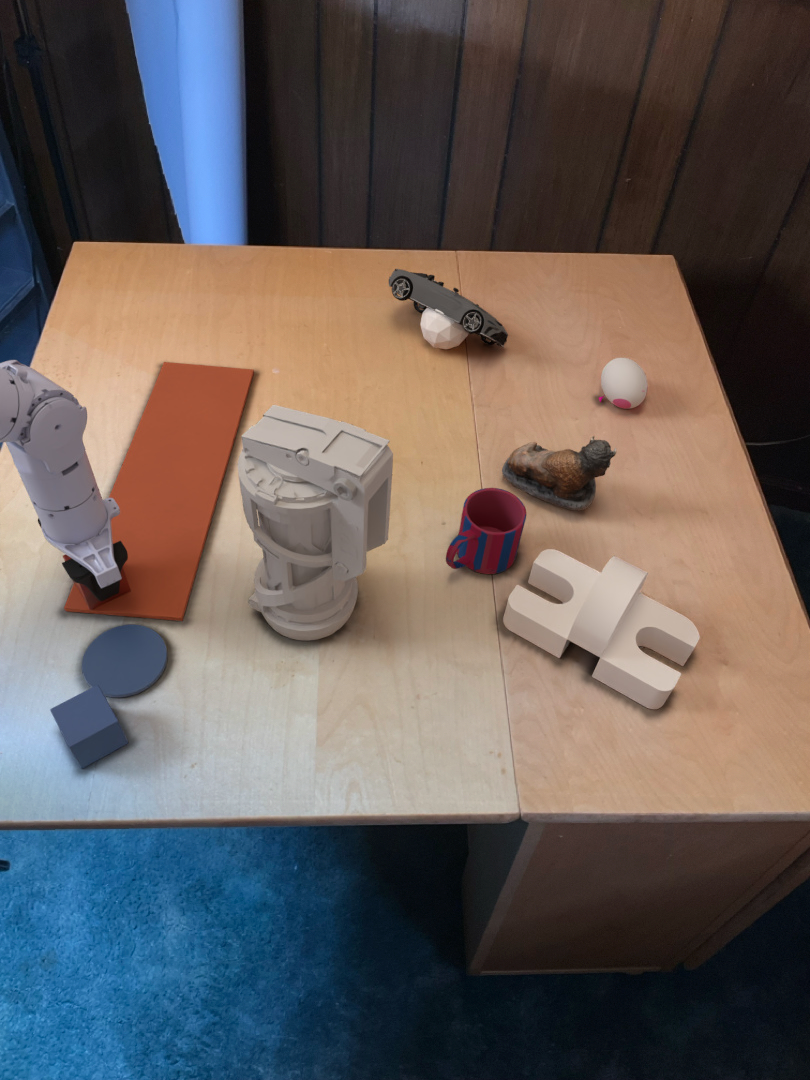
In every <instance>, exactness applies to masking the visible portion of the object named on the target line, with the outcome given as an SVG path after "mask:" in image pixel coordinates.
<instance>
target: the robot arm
mask: <svg viewBox="0 0 810 1080" xmlns="http://www.w3.org/2000/svg"><path fill="white" fill-rule="evenodd" d="M87 423H88V409H87V407H86V406H83V405H81V404H80V401H78V399H77V397H75V395H74V394H72V393H71V392H70V391H68V390H67V389H65V388H64V387H62V386H60V385H59V384H57V383H56V382H54V381H53V380H51V379H50V378H48V377H47V376H45V375H43V374H42V373H40V372H39V371H37V370H36V369H35V368H32V367H30V366H28V365H26V364H24V363H21V362H20V361H18V360H17V359H9V360H6V361H2V362H0V443H5V445H6V448H7V449H8V451H9V453H10V456H11V458H12V462H13V464H14V466H15V468H16V470H17V473H18V474H19V477H20V479H21V482H22V484H23V486H24V488H25V490H26V492H27V495H28V497H29V499H30V502H31V505H32V506H33V509H34V511H35V513H36V515H37V517H38V518H37V524H38V525H39V527H40V529H41V531H42V534H43V537H44V538H45V540H46V542H48V544H50V545H51V546H52V547H54V548H56V549H57V550H59V552H62V553H63V554H64V555H65V554H66V555H68V556H69V557H71V558H72V559H69V560H67V561H63V562H61V565H62V567H63V569H64V571H65V572H66V574H67V575H68V577H69V578H70V579H71V580H72V581H74V582H76V583H80V584H83V585H84V586H86V587H87V588H88V589H89V590H90V591H91V592H92V594H93V595H94V596H95V597H96V598H97V599H98V600H99V601H104V600H106V599H108V598H110V597H112V596H114V595H116V594H118V593H119V590H120V579H122V577H121V574H120V573H121V569H122V567H123V565H124V564H125V562H126V561H127V559H128V553H127V550H126V548H125V547H124V545H123V543H122V542H121V541H118V542H116V543H114V544H113V539H112V525H111V520H112V518H113V517H115V516H118V515H119V514H120V509H119V506H118V505H117V503H116V502H115V500H114V499H113V498H109V497H107V498H104V499H103V497H102V494H101V491H100V488H99V485H98V482H97V480H96V476H95V474H94V471H93V468H92V465H91V461H90V460H89V457H88V454H87V451H86V446H85V444H84V440H83V439H84V438H83V437H84V432H85V430H86V427H87ZM74 582H73V583H74Z"/></svg>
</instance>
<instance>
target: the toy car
mask: <svg viewBox="0 0 810 1080" xmlns="http://www.w3.org/2000/svg"><path fill="white" fill-rule="evenodd" d="M435 277H436V276H435V275H434V274H427V273H423V272H412V271H408V270H405V269H400V268H394V270H393V271H392V273H391V275H390V276H389V277H388V287H390V288H391V294H392V296H393V297H394V298H395V299H396V300H398V301H401V302H404V301H408V300H410V301H412V302H413V304H412V305H413V307H414V309H415V311H416V312H418V313H420V314H421V319H420V323H419V325H420V329H421V333H422V335H423V339H424V340H425V341H427V343H429V344H430V346H431V347H433V348H435V349H441V350H442V349H443V350H449V349H453V348H456V347H459V346H460V345H461V344H462V342H464V340H466V338H467V337H468V336H469V334H470V335H476V336H480V340H481V342H482V343H484V344H485V345H487V346H494V345H497V346H499V347H500V348H505V344H506V343H507V342H508V341H507V340H508V337H509V334H508V332H507V330H506V328H505V326H503V324H502V323H501V322H500V321H499V320H498V319H497V318H496V317H494V316H493V315H492V314H491V313H489V312H488V311H486V310H485V309H483V308H482V307H481V306H480V305H479V304H478V303H474V302H473V301H471V300H469V299H468V298H466V297H465V296H463V295H461V294H460V293H459V292H460V290H459V288H456V287H453V288H452V289H449V288H447V287H445V286H444V285H445V282H444V281H437V280H435Z"/></svg>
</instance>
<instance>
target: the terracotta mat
mask: <svg viewBox="0 0 810 1080" xmlns="http://www.w3.org/2000/svg"><path fill="white" fill-rule="evenodd" d="M254 370H255V369H252V368H241V367H240V368H239V367H231V366H230V367H229V366H217V365H215V366H214V365H205V364H194V363H193V364H192V363H183V362H181V363H180V362H169V361H163V364H162V366H161V367H160V371H159V373H158V376H157V378H156V381H155V383H154V385H153V388H152V390H151V393H150V396H149V398H148V401H147V402H146V405H145V408H144V411H143V412H142V415H141V418H140V420H139V423H138V425H137V427H136V430H135V432H134V435H133V436H132V437H133V438H132V440H131V442H130V445H129V447H128V449H127V452H126V454H125V457H124V459H123V462H122V464H121V467H120V470H119V471H118V474H117V477H116V480H115V482H114V484H113V487H112V488H111V492H110V494H109V496H108V498H113V499H114V500H115V502H116V503H117V505H118V506H119V509H120V514H119V515H118V516H115V517H113V518H112V520H111V525H112V539H113V544H114V543H116V542H118V541H121V542H122V543H123V545H124V547H125V548H126V550H127V553H128V559H127V561H126V562H125V564H124V565H123V569H124V572H125V575H126V578H127V581H128V583H129V586H130V589H131V591H130V592H128V593H126V594H124V595H122V596H120V597H118V598H115V599H113V600H111V601H109V602H107V603H105V604H103V605H101V606H99V607H97V608H94V609H92V610H90V609H89V608H88V606H87V604H86V602H85V601H84V599H83V597H82V596H81V594H80V592H79V590H78V589H77V587H76V585H75V583H74V582H73V585H72V587H71V589H70V592H69V594H68V597H67V599H66V602H65V605H64V606H63V609H64V611H65V612H71V613H72V612H73V613H83V614H95V615H106V616H107V615H108V616H119V617H131V618H143V619H153V620H165V621H166V620H167V621H179V622H183V620H184V617H185V614H186V611H187V608H188V607H187V606H188V603H189V599H190V596H191V593H192V589H193V586H194V583H195V578H196V576H197V572H198V569H199V565H200V562H201V558H202V555H203V552H204V551H203V550H204V548H205V544H206V542H207V538H208V534H209V530H210V527H211V523H212V521H213V516H214V513H215V510H216V506H217V503H218V499H219V496H220V493H221V489H222V485H223V482H224V480H225V479H224V478H225V475H226V471H227V468H228V464H229V461H230V458H231V455H232V450H233V447H234V444H235V440H236V437H237V434H238V430H239V428H240V427H239V426H240V423H241V419H242V416H243V413H244V409H245V405H246V402H247V398H248V396H249V392H250V389H251V385H252V382H253V378H254V375H255V371H254Z"/></svg>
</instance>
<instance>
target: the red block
mask: <svg viewBox="0 0 810 1080" xmlns="http://www.w3.org/2000/svg"><path fill="white" fill-rule="evenodd" d="M62 558H63V562H65V561H67V560H69V559H72V558H71V557H69V556H68V555H66V554H65V553H64V554H63V555H62ZM120 574H121V577H122V579H120V590H119V593H118V594H116V595H114V596H112V597H110V598H108V599H106V600H104V601H99V600H98V599H97V598H96V597H95V596H94V595H93V594H92V592H91V591H90V590H89V589H88V588H87V587H86V586H84V585H83V584H80V583H76V582H74V581H73V580H72V581H73V584H74V583H75V585H76V587H77V589H78V590H79V592H80V594H81V596H82V597H83V599H84V601H85V602H86V604H87V606H88V608H89V609H90V610H92V609H94V608H97V607H99V606H101V605H103V604H105V603H107V602H109V601H111V600H113V599H115V598H118V597H120V596H122V595H124V594H126V593H128V592H130V591H131V589H130V586H129V583H128V581H127V578H126V575H125V572H124V569H123V567H122V569H121V573H120Z"/></svg>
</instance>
